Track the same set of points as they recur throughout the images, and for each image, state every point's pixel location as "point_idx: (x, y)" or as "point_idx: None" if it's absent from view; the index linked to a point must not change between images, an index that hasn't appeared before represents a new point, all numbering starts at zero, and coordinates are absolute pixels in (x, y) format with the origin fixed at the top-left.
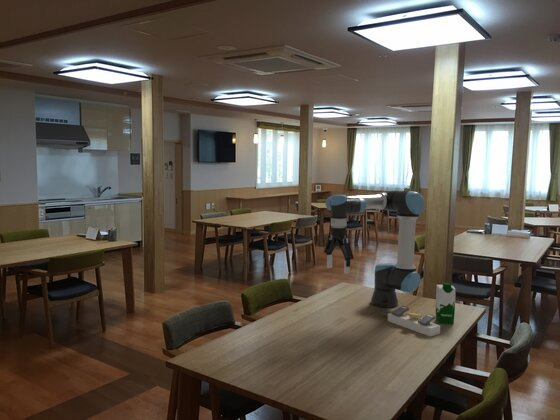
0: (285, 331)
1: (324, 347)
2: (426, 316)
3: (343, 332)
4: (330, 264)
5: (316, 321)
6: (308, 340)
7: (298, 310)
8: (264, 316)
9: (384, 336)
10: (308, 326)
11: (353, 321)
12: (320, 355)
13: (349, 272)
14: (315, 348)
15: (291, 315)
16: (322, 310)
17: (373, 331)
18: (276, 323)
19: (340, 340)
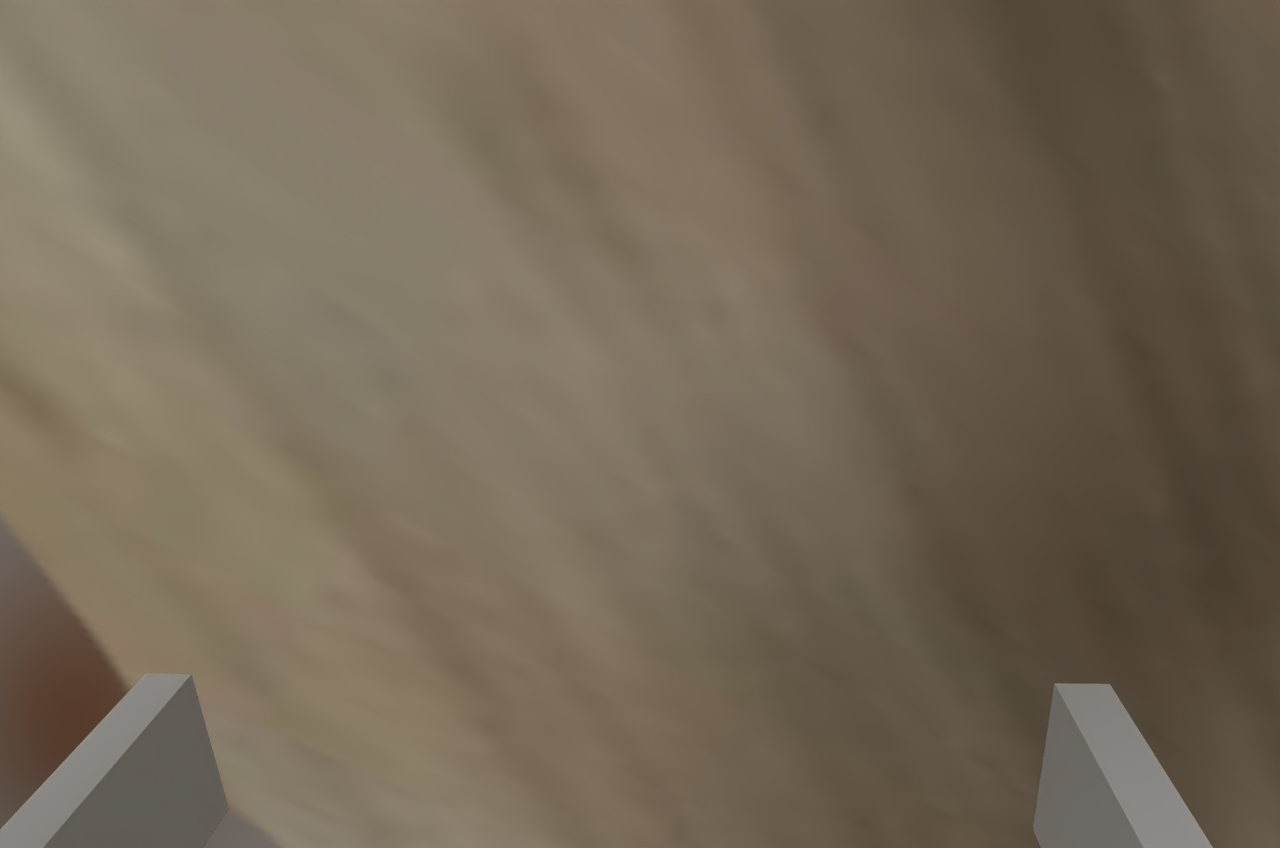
0: (587, 772)
1: None
2: None
3: (877, 362)
4: (145, 816)
5: (457, 415)
6: (867, 730)
7: (53, 388)
8: None
9: (1259, 14)
10: (559, 558)
11: (633, 23)
12: None
13: (1116, 700)
14: None
15: (197, 531)
16: (116, 134)
17: (1050, 25)
18: (372, 741)
19: (1033, 513)
